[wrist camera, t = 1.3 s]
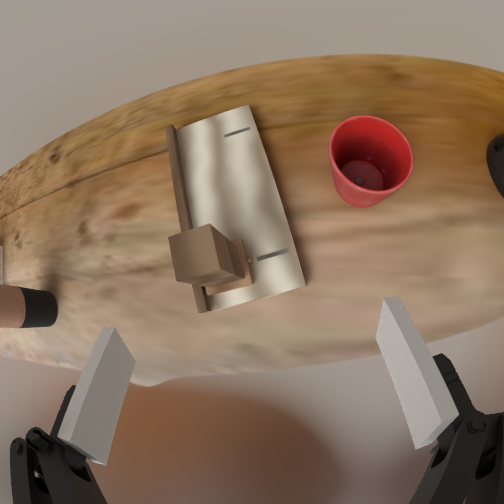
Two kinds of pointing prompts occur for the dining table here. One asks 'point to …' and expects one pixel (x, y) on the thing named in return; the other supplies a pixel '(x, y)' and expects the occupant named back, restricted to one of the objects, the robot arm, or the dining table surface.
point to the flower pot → (369, 159)
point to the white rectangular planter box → (1, 265)
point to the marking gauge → (210, 260)
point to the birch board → (234, 202)
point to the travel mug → (26, 307)
